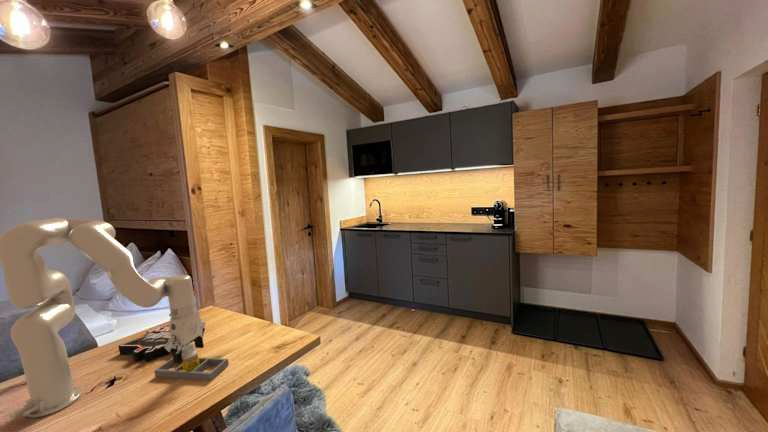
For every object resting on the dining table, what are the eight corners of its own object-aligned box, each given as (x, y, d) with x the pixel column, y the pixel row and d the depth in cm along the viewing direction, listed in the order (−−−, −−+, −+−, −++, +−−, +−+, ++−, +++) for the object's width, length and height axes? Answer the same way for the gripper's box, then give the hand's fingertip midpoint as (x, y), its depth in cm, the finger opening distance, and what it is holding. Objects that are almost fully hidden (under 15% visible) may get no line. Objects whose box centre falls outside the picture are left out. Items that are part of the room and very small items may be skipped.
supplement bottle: (194, 365, 117) (191, 341, 116) (203, 368, 115) (199, 344, 113) (180, 373, 113) (176, 349, 111) (188, 377, 110) (184, 352, 109)
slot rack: (211, 380, 107) (210, 373, 107) (155, 376, 112) (153, 369, 111) (228, 364, 116) (227, 357, 116) (176, 361, 121) (175, 355, 120)
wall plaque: (105, 353, 123) (164, 318, 152) (106, 363, 123) (166, 326, 153) (170, 353, 120) (218, 317, 150) (171, 363, 121) (219, 325, 150)
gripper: (171, 321, 102) (178, 370, 104) (209, 300, 119) (215, 342, 121) (152, 321, 103) (159, 368, 105) (192, 300, 120) (198, 341, 122)
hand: (189, 354), depth 113 cm, fingers open, 9 cm apart
